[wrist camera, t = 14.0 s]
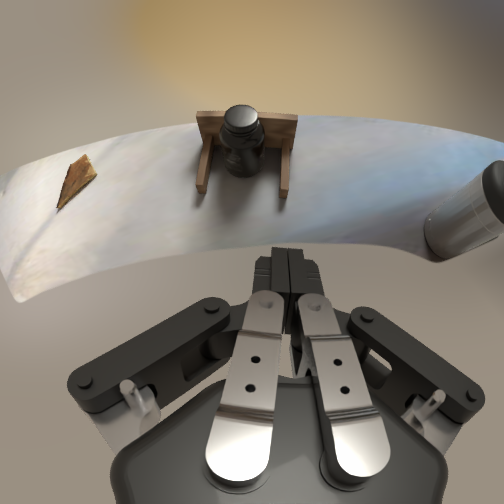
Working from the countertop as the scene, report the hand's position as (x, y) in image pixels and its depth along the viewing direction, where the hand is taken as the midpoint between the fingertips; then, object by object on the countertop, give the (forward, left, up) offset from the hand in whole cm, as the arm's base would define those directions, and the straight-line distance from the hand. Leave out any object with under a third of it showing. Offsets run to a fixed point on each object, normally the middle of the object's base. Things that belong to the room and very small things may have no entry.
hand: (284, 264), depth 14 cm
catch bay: (+5, -22, -28) cm, 36 cm away
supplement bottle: (+5, -24, -28) cm, 37 cm away
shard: (+38, -20, -29) cm, 51 cm away
